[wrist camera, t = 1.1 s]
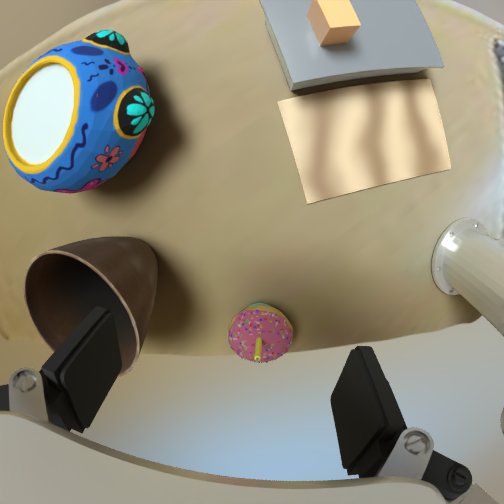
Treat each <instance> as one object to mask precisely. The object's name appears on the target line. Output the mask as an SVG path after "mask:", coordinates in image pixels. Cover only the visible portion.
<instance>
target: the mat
mask: <svg viewBox="0 0 504 504" xmlns="http://www.w3.org/2000/svg"><path fill="white" fill-rule="evenodd" d="M277 104H278V107H279V110H280V113H281V116H282V119H283V122H284V125H285V128H286V132H287V135H288V138H289V141H290V145H291V148H292V151H293V155H294V158H295V162H296V165H297V169H298V172H299V176H300V179H301V183H302V187H303V190H304V194H305V198H306V201H307V204H309V203H313V202H317V201H320V200H324V199H328V198H332V197H336V196H340V195H343V194H347V193H351V192H355V191H359V190H363V189H367V188H371V187H375V186H379V185H383V184H387V183H392V182H396V181H400V180H404V179H408V178H413V177H417V176H421V175H426V174H430V173H435V172H439V171H444V170H448V169H451V165H450V159H449V153H448V148H447V142H446V138H445V133H444V128H443V124H442V120H441V116H440V112H439V108H438V105H437V101H436V97H435V94H434V91H433V87H432V84H431V81H430V79H418V80H403V81H392V82H382V83H373V84H366V85H358V86H352V87H345V88H339V89H334V90H328V91H323V92H318V93H313V94H308V95H303V96H299V97H295V98H290V99H286V100H282V101H278V102H277Z"/></svg>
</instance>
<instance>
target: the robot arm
mask: <svg viewBox="0 0 504 504" xmlns="http://www.w3.org/2000/svg"><path fill="white" fill-rule="evenodd" d="M432 276H433V279H434V282H435V283H436V285H437V286H438V287H439V288H440V289H441V290H442V291H443V292H444V293H446V294H449V295H458V294H461V295H462V296H463V297H464V298H465V299H466V300H467V301H468V302H469V303H470V304H471V305H473V306H474V307H475V308H476V309H477V310H478V311H479V312H480V313H481V314H482V315H483V316H484V317H485V318H486V319H487V320H488V321H489V322H490V323H491V324H492V325H493V326H494V327H495V328H496V329H497V330H498V331H499V332H500V333H501V334H502V335H503V336H504V238H501V239H498V240H497V241H496V240H494V239H493V238H491V237H489V235H488V232H487V230H486V228H485V227H484V226H483V224H481V223H480V222H479V221H477V220H475V219H472V218H462V219H459V220H457V221H455V222H454V223H452V224H451V225H450V226H449V227H448V228H447V229H446V230H445V231H444V232H443V234H442V235H441V237H440V239H439V240H438V242H437V245H436V247H435V250H434V253H433V258H432ZM121 369H122V360H121V354H120V349H119V343H118V337H117V330H116V324H115V317H114V314H112V313H111V311H110V310H109V309H106V308H102V307H98V306H97V307H95V308H94V309H93V310H92V311H91V312H90V313H89V314H88V315H87V316H86V317H85V319H84V320H83V321H82V322H81V323H80V324H79V325H78V326H77V327H76V328H75V329H74V331H73V332H72V333H71V334H70V335H69V336H68V337H67V338H66V339H65V341H64V342H63V343H62V344H61V345H60V346H59V347H58V348H57V350H56V351H55V352H54V353H53V354H52V356H51V357H50V358H49V359H48V360H47V361H46V362H45V364H44V365H43V366H42V369H41V370H40V371H39V372H38V371H37V370H36V369H34V368H30V367H24V368H20V369H18V370H16V371H15V372H14V373H13V374H12V375H11V377H10V379H9V384H7V385H2V386H0V504H498V503H497V502H496V501H495V500H494V499H493V498H492V497H491V496H490V495H488V494H487V493H486V492H485V491H484V490H483V489H482V488H481V487H480V486H479V485H477V484H474V485H472V475H471V473H470V471H469V470H468V468H466V467H465V466H463V465H462V464H459V463H457V462H455V461H453V460H451V459H449V458H447V457H446V456H444V455H442V454H440V453H438V452H436V451H434V450H433V448H434V443H433V439H432V437H431V436H430V434H429V433H428V432H426V431H425V430H423V429H420V428H416V427H412V428H408V429H407V426H406V424H405V421H404V419H403V417H402V414H401V411H400V409H399V407H398V404H397V402H396V399H395V397H394V394H393V392H392V389H391V387H390V385H389V382H388V381H387V380H386V378H385V376H384V373H383V371H382V369H381V367H380V364H379V362H378V360H377V358H376V355H375V353H374V351H373V349H372V347H370V346H357V347H356V348H355V349H353V350H351V352H350V354H349V356H348V359H347V361H346V364H345V366H344V368H343V371H342V373H341V375H340V377H339V380H338V382H337V384H336V386H335V388H334V391H333V393H332V395H331V407H332V412H333V416H334V422H335V427H336V432H337V437H338V443H339V448H340V454H341V460H342V466H343V468H344V469H347V473H348V475H356V474H359V478H357V479H346V480H329V481H271V480H256V479H245V478H235V477H227V476H220V475H213V474H207V473H201V472H196V471H191V470H186V469H181V468H176V467H172V466H168V465H163V464H160V463H156V462H152V461H149V460H145V459H142V458H138V457H135V456H132V455H129V454H126V453H122V452H120V451H117V450H114V449H111V448H109V447H106V446H103V445H101V444H98V443H95V442H93V441H90V440H88V439H85V438H83V437H80V436H78V435H76V434H73V433H71V432H70V430H71V429H74V430H76V431H78V432H80V433H83V431H84V429H85V428H88V427H89V426H90V425H91V423H92V421H93V419H94V417H95V416H96V414H97V412H98V410H99V408H100V406H101V405H102V403H103V401H104V399H105V397H106V396H107V394H108V392H109V390H110V389H111V387H112V385H113V383H114V382H115V380H116V378H117V377H118V375H119V373H120V371H121ZM500 421H501V428H502V432H503V434H504V408H503V411H502V414H501V420H500Z"/></svg>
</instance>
